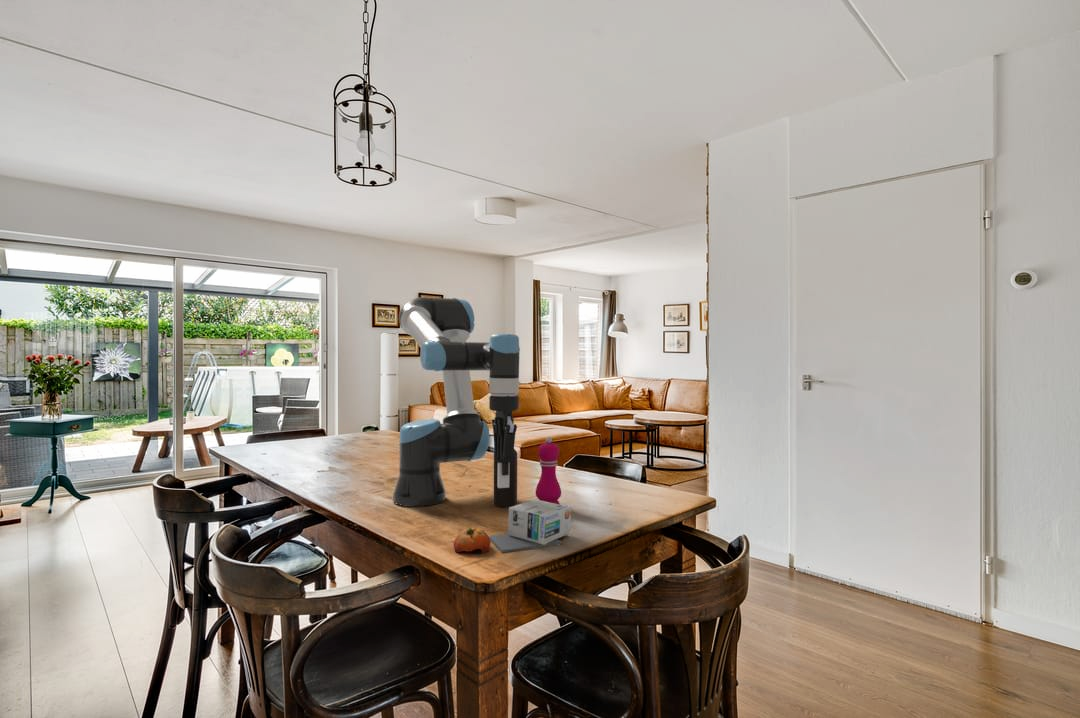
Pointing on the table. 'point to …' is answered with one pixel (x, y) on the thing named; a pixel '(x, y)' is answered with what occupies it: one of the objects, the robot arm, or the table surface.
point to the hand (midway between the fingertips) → (503, 487)
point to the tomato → (472, 540)
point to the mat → (516, 543)
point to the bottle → (508, 495)
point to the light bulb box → (539, 521)
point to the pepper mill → (548, 473)
